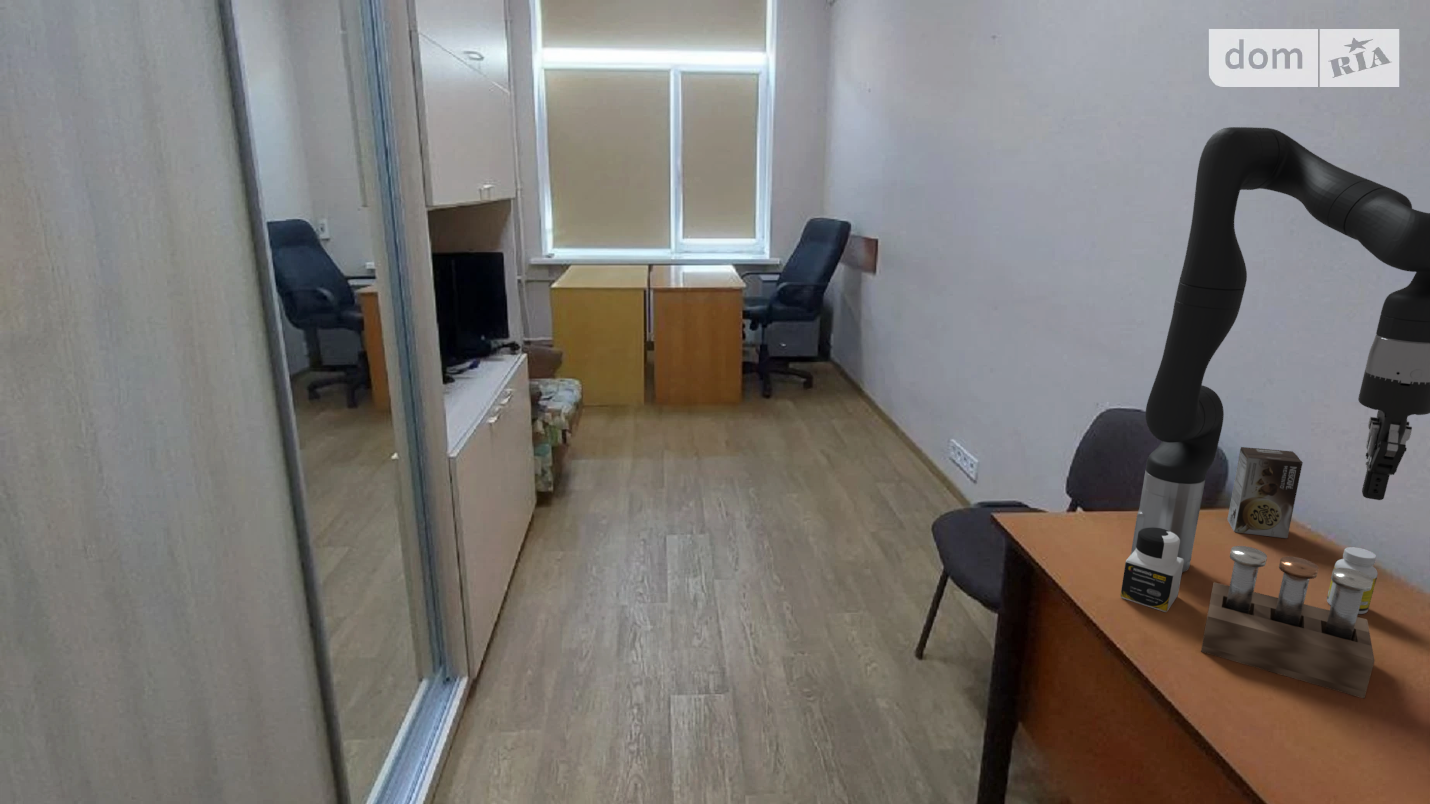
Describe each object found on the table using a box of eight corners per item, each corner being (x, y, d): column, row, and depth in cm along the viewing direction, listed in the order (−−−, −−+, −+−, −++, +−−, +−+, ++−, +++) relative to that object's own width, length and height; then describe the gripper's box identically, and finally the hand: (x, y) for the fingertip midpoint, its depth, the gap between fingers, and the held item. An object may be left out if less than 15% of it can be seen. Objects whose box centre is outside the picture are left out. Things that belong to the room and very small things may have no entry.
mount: (1201, 651, 115) (1207, 616, 113) (1207, 615, 125) (1213, 582, 123) (1364, 698, 105) (1374, 660, 103) (1357, 655, 114) (1367, 619, 112)
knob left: (1218, 615, 116) (1230, 554, 113) (1220, 602, 120) (1232, 543, 117) (1253, 624, 114) (1266, 562, 111) (1254, 611, 117) (1267, 550, 114)
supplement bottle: (1375, 616, 124) (1390, 562, 121) (1337, 613, 125) (1350, 558, 122) (1355, 599, 129) (1369, 546, 126) (1319, 596, 130) (1331, 543, 127)
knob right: (1318, 641, 109) (1333, 577, 107) (1317, 627, 113) (1332, 564, 110) (1357, 652, 107) (1374, 586, 104) (1355, 637, 110) (1371, 573, 108)
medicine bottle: (1119, 598, 130) (1129, 533, 126) (1132, 582, 135) (1142, 519, 131) (1166, 613, 125) (1178, 546, 122) (1178, 596, 130) (1189, 531, 127)
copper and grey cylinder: (1266, 628, 113) (1280, 565, 110) (1267, 614, 116) (1280, 553, 113) (1304, 638, 110) (1319, 574, 107) (1303, 624, 114) (1317, 561, 111)
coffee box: (1278, 526, 156) (1294, 450, 151) (1288, 539, 150) (1305, 461, 145) (1225, 519, 159) (1240, 445, 154) (1233, 532, 153) (1248, 456, 148)
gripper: (1361, 359, 106) (1334, 476, 111) (1369, 379, 96) (1339, 507, 101) (1434, 366, 102) (1402, 487, 107) (1451, 388, 92) (1415, 521, 96)
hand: (1372, 497), depth 104 cm, fingers closed
